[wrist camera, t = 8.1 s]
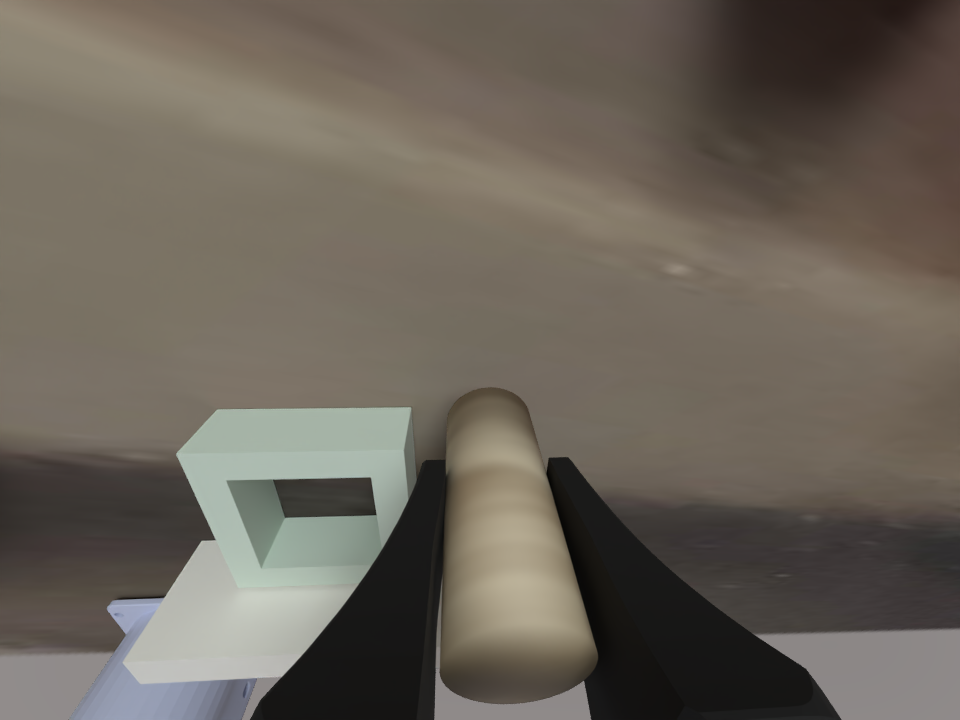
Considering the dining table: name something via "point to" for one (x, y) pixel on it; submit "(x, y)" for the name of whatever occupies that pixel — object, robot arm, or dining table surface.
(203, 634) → the wall
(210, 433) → the socket block
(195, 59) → the dining table surface
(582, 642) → the dowel
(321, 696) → the robot arm
